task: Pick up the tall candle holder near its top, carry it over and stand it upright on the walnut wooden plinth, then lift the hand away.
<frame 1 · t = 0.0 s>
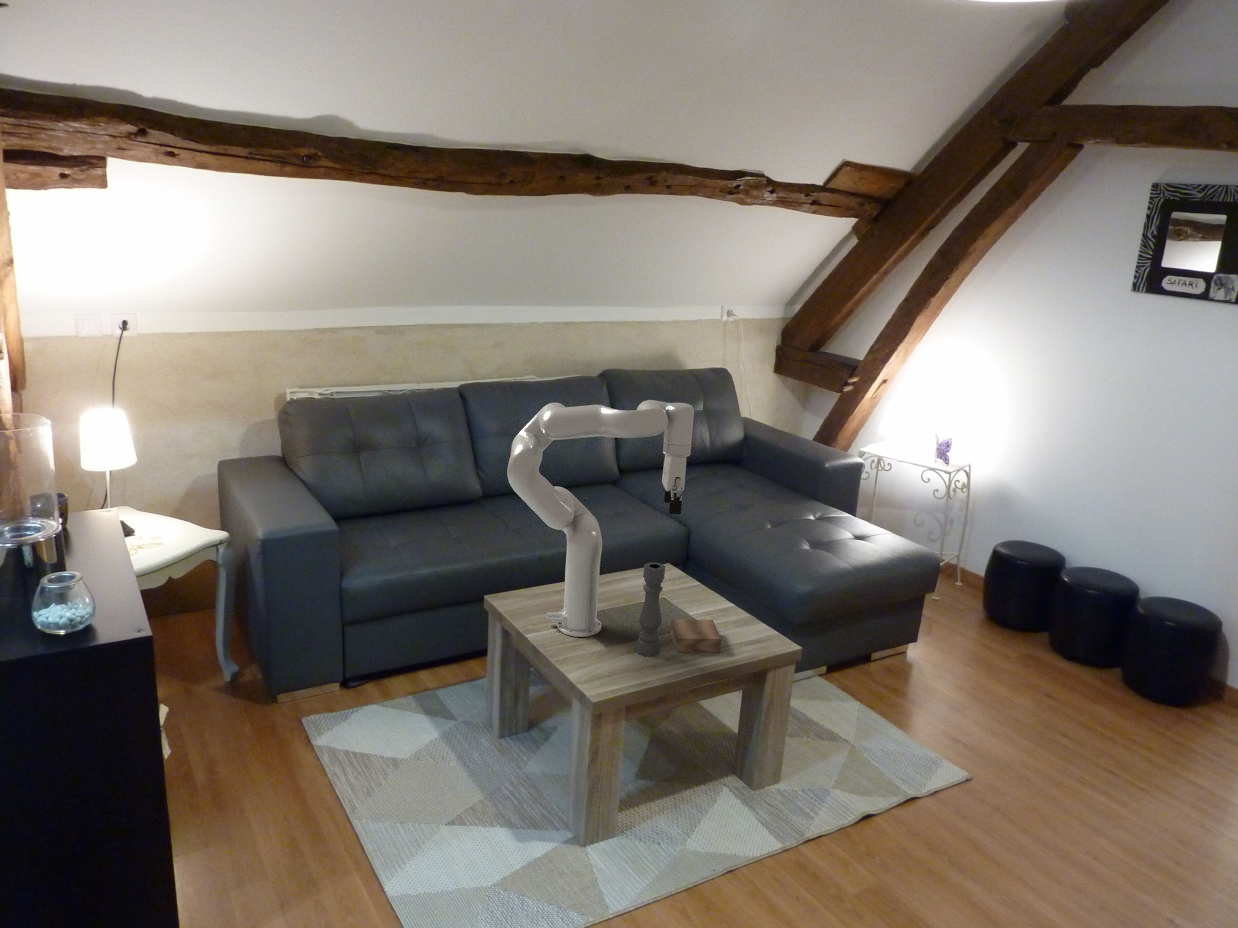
hand: (672, 507, 264), 37 cm above the table, tool pointing down, fingers open, 9 cm apart
walnut plinth: (694, 641, 268), on the table
candle holder: (647, 651, 260), on the table
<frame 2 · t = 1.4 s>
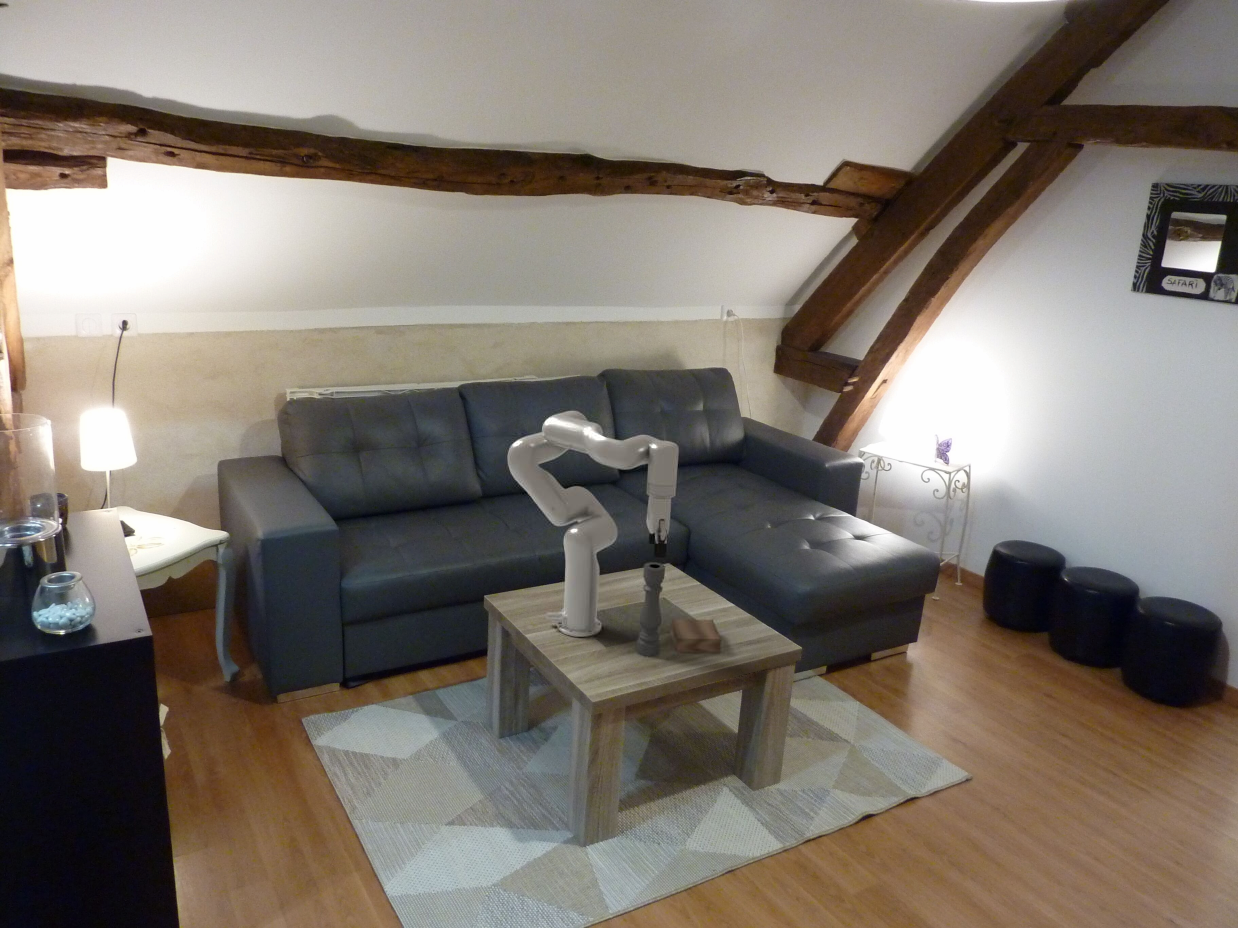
hand: (657, 550, 252), 30 cm above the table, tool pointing down, fingers open, 9 cm apart
nothing on the table moved.
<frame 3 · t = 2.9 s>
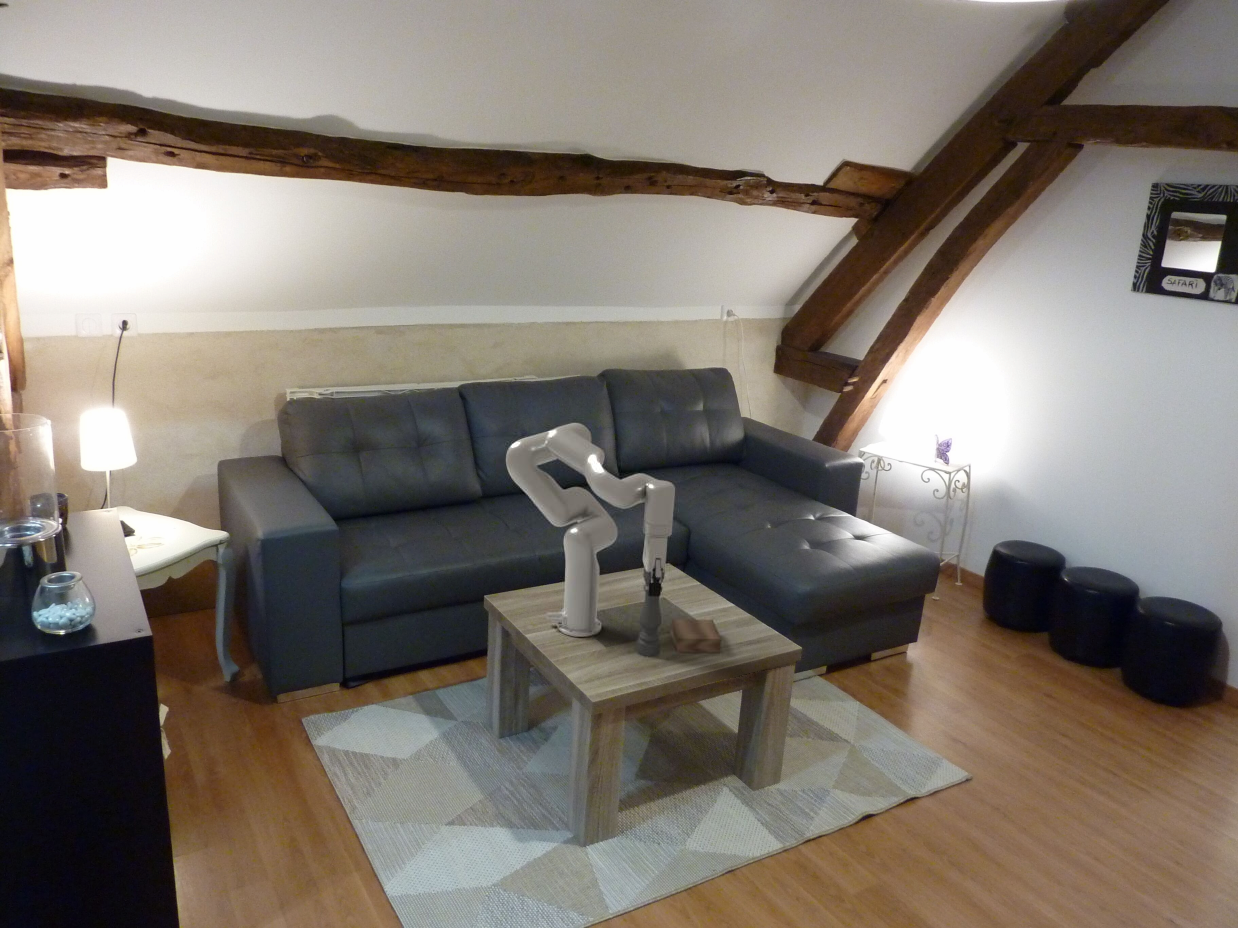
hand: (652, 590, 256), 18 cm above the table, tool pointing down, fingers closed on candle holder, 5 cm apart
candle holder: (647, 651, 260), on the table, touching gripper
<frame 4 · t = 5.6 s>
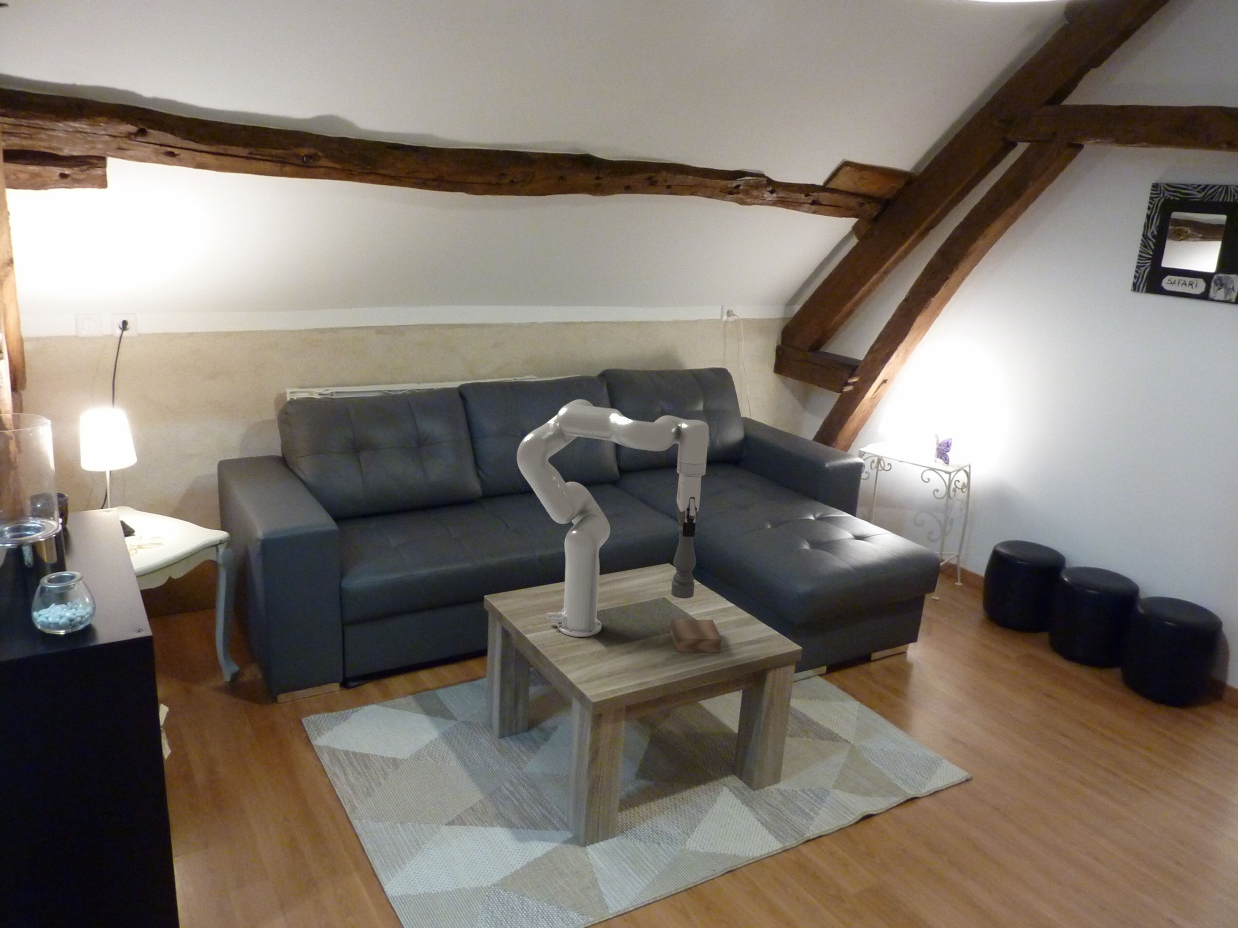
hand: (686, 531, 255), 34 cm above the table, tool pointing down, fingers closed on candle holder, 5 cm apart
candle holder: (682, 594, 260), point 16 cm above the table, touching gripper
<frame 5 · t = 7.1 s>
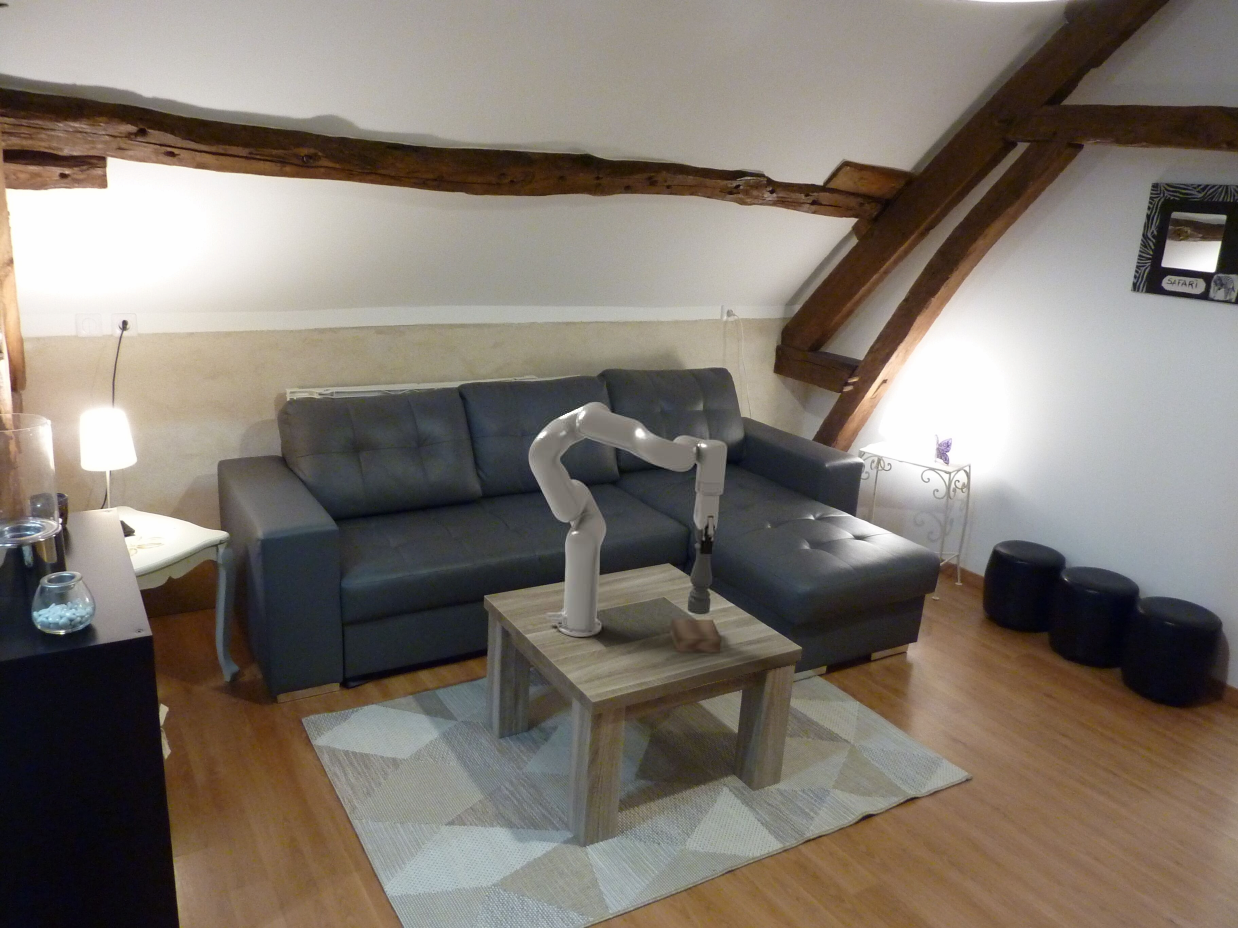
hand: (703, 548, 260), 28 cm above the table, tool pointing down, fingers closed on candle holder, 5 cm apart
candle holder: (698, 610, 265), point 10 cm above the table, touching gripper
when the fingers open (23 cm above the table, at t = 8.5 s): candle holder stays where it is, resting on walnut plinth.
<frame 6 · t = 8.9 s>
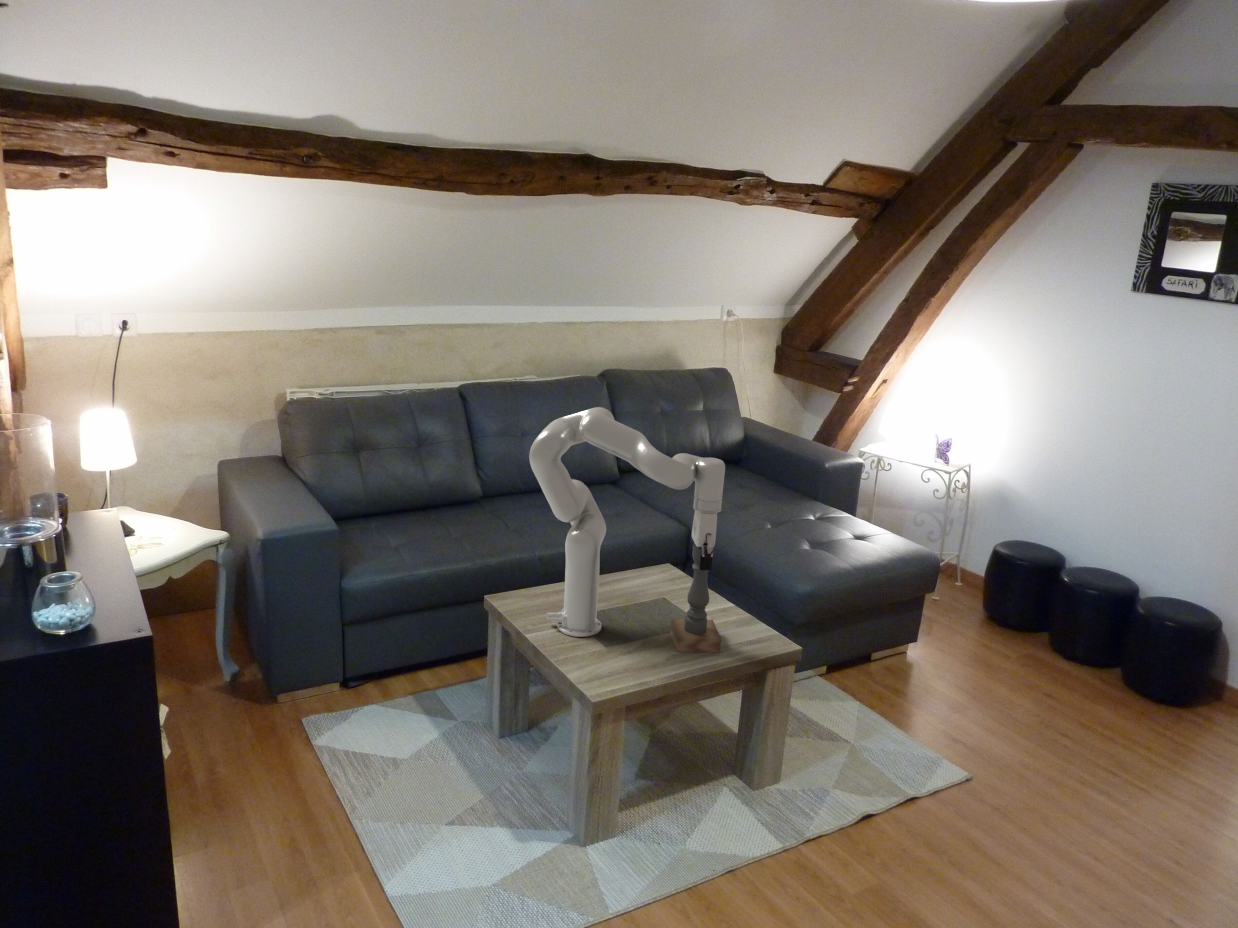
hand: (702, 562, 261), 24 cm above the table, tool pointing down, fingers open, 9 cm apart
candle holder: (695, 629, 266), point 4 cm above the table, touching walnut plinth
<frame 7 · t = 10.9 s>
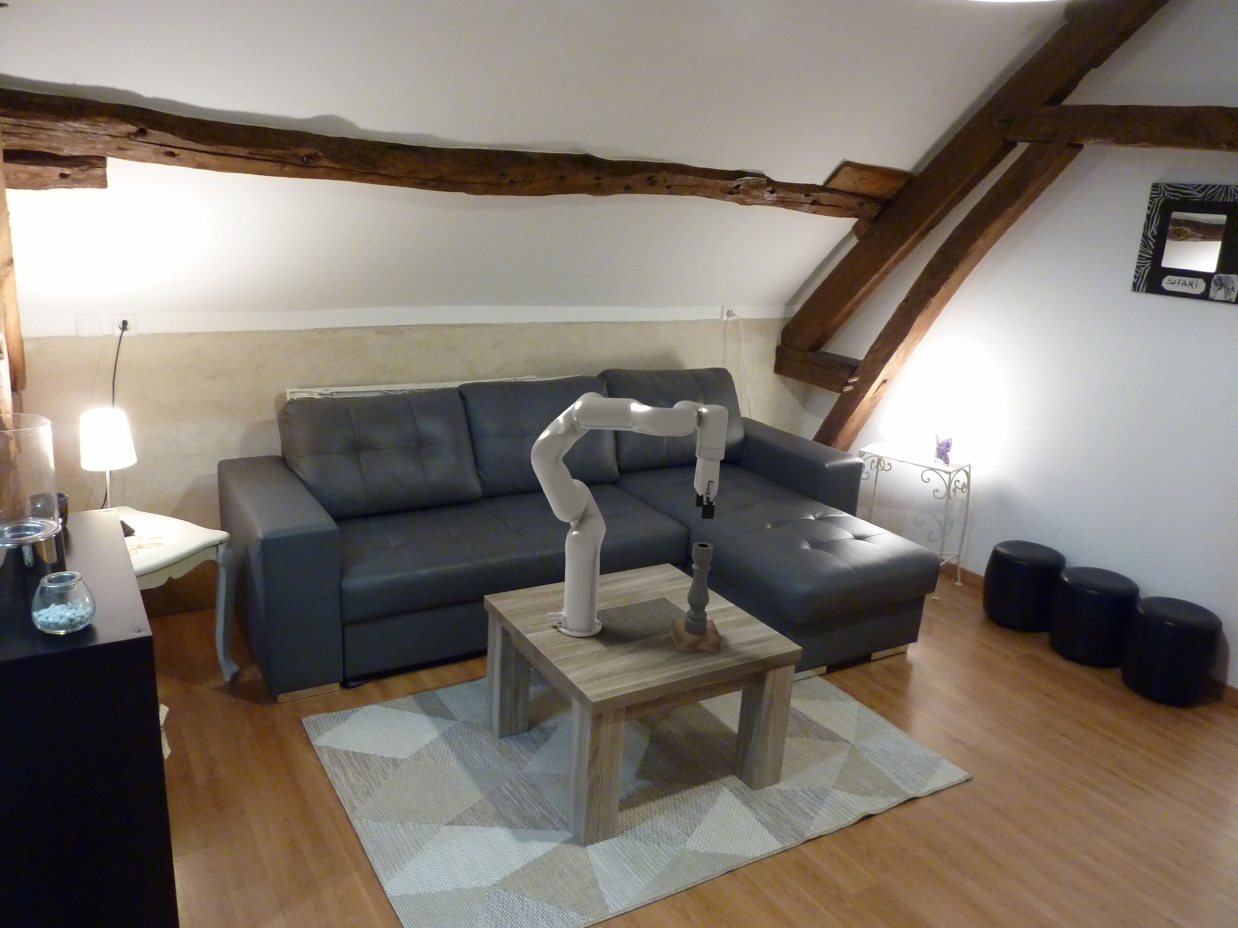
hand: (704, 512, 258), 38 cm above the table, tool pointing down, fingers open, 9 cm apart
nothing on the table moved.
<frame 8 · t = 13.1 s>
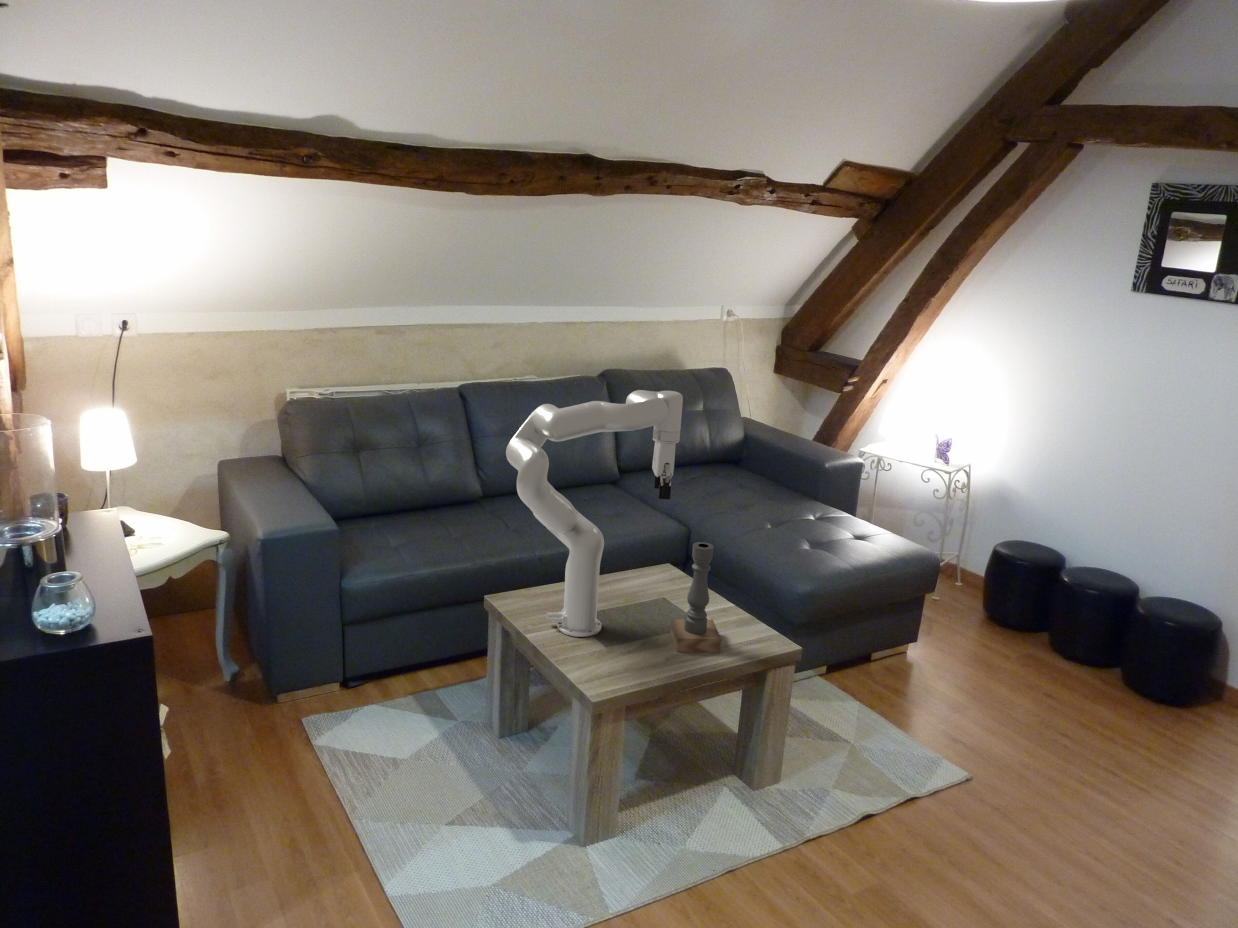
hand: (661, 493, 271), 38 cm above the table, tool pointing down, fingers open, 9 cm apart
nothing on the table moved.
at the end: candle holder 0.4 cm off-centre on the walnut plinth, point 3.8 cm above the walnut plinth's base; candle holder tilted 0°; the gripper is holding nothing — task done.
